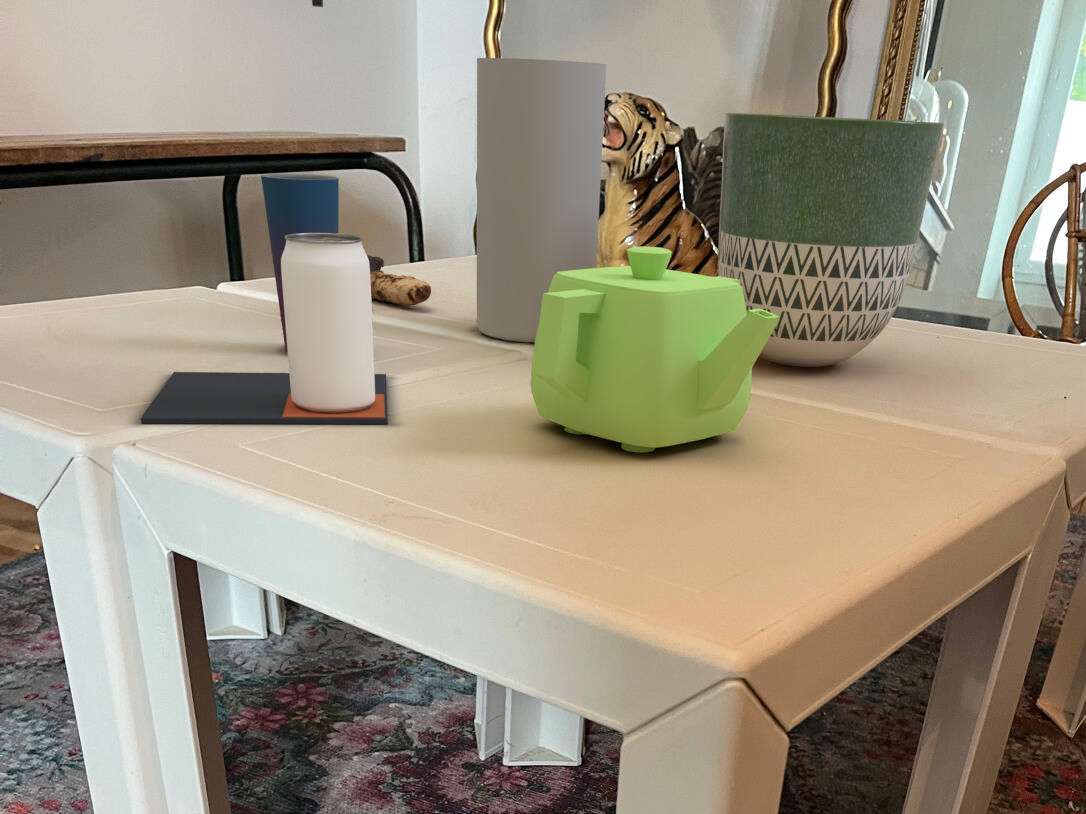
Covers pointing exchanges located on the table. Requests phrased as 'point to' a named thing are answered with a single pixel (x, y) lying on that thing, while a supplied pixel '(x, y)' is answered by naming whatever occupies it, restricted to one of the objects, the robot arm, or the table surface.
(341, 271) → the can
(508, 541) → the table surface
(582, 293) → the teapot
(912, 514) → the table surface
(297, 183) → the cup
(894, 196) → the planter
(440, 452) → the table surface
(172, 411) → the mat
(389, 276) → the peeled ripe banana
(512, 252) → the cylinder vase
